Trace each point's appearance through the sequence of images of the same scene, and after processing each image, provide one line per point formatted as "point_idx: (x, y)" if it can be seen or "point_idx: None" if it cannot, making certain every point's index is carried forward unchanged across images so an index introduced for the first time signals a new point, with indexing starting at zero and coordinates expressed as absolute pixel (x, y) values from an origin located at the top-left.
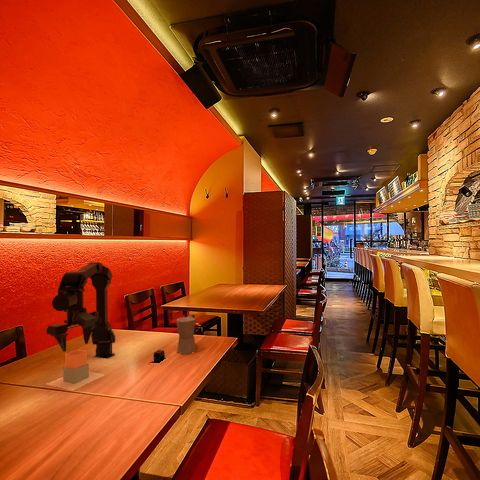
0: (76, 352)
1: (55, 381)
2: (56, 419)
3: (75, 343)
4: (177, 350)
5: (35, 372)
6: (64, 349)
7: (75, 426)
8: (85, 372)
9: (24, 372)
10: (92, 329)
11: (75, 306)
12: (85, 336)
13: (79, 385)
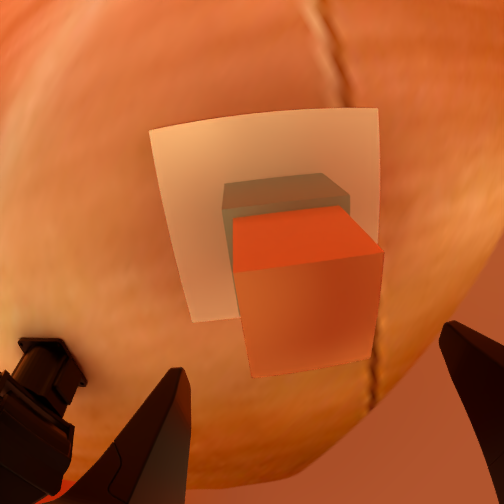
0: (319, 312)
1: None
2: (484, 15)
3: None
4: None
5: (284, 423)
6: (471, 330)
7: None
8: (251, 190)
9: (298, 438)
10: (70, 498)
11: None
12: (177, 454)
13: (324, 127)
